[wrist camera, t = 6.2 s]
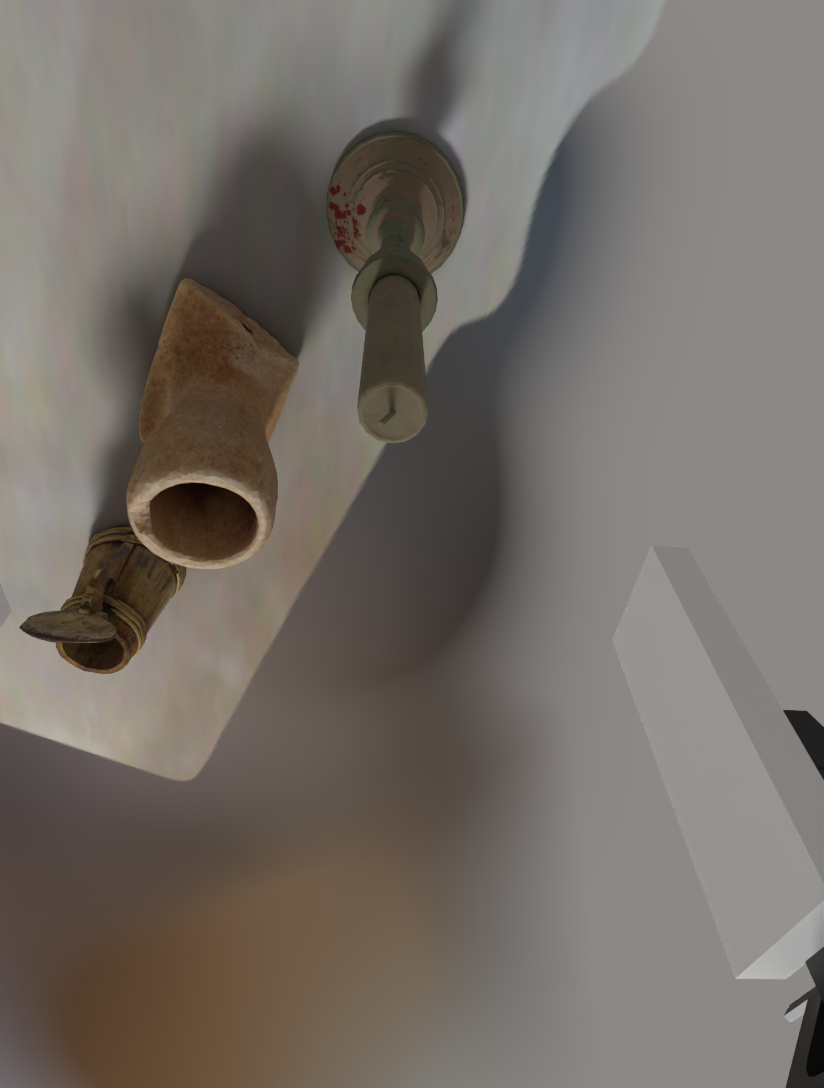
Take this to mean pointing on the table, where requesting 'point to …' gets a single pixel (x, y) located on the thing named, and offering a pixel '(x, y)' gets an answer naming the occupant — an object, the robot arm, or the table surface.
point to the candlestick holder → (394, 266)
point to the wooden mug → (110, 603)
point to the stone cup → (208, 434)
